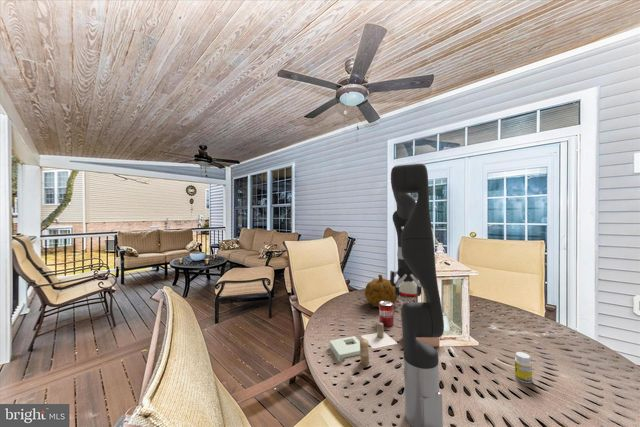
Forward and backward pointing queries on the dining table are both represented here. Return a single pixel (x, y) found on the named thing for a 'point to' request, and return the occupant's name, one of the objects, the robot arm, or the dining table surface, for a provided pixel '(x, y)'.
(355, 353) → the peg board
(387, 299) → the decorative pumpkin
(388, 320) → the soda can
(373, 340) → the board
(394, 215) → the robot arm
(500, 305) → the dining table surface
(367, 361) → the peg
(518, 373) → the supplement bottle
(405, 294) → the kitchen timer
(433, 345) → the peach stamp with handle
